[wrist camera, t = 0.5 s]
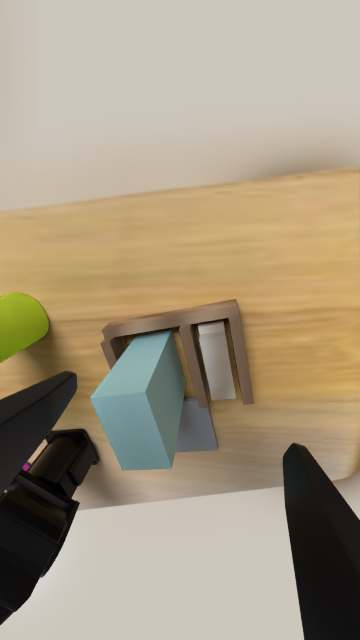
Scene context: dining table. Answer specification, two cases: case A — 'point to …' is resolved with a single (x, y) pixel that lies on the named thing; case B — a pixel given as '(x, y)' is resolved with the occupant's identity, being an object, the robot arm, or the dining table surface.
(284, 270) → the dining table surface
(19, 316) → the soap dispenser
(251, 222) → the dining table surface
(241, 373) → the walnut rack
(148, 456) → the light blue rectangular prism
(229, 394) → the gray notched block
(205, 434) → the slate mat
